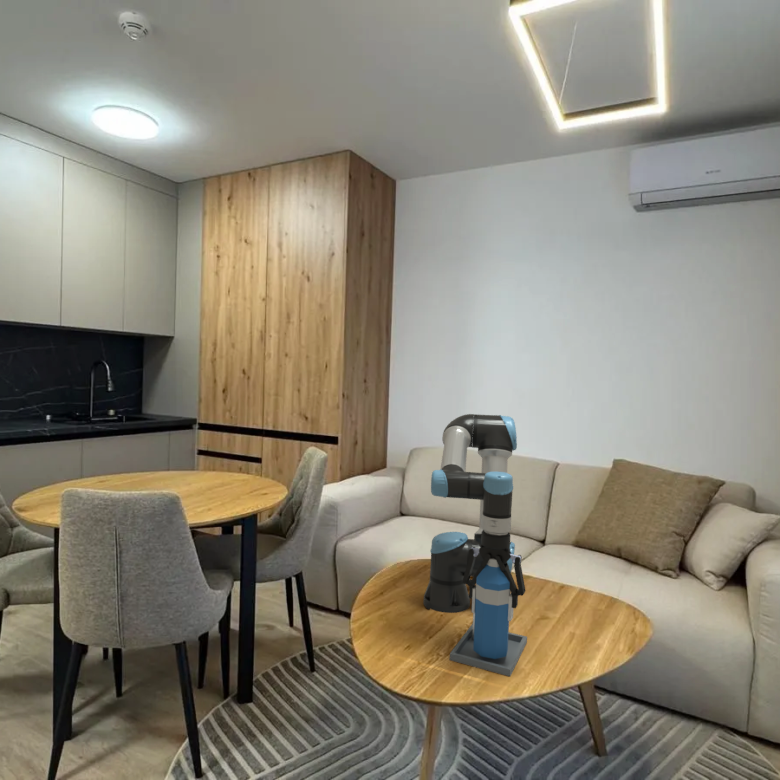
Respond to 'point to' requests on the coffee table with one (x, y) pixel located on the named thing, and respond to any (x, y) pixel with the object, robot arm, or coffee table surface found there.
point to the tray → (501, 665)
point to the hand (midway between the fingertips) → (492, 614)
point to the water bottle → (491, 612)
